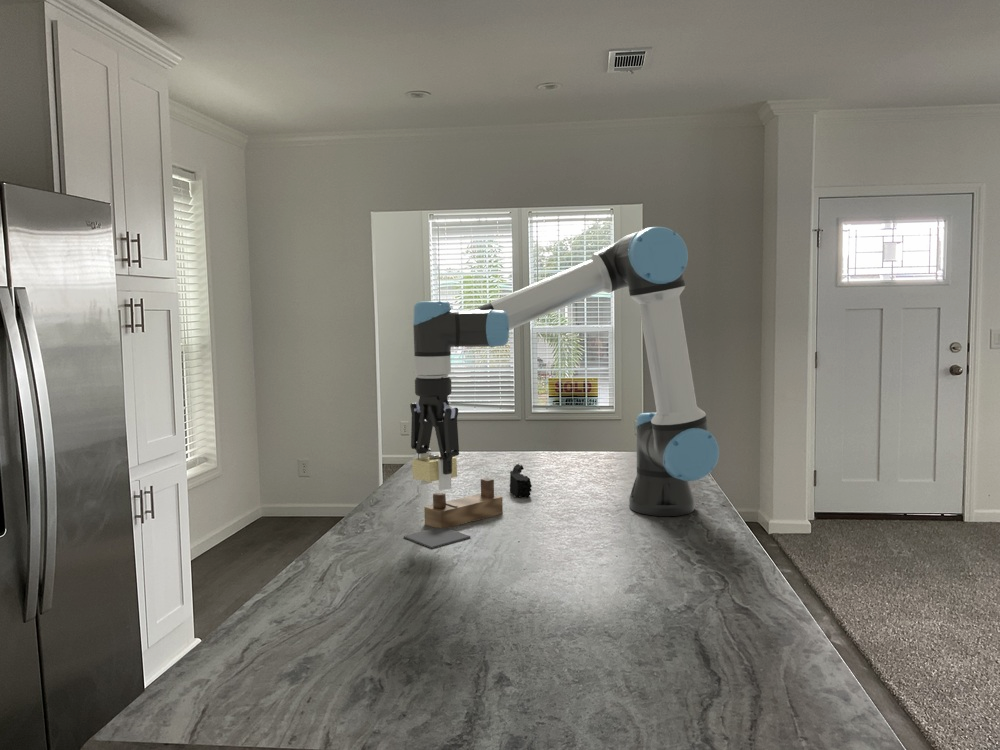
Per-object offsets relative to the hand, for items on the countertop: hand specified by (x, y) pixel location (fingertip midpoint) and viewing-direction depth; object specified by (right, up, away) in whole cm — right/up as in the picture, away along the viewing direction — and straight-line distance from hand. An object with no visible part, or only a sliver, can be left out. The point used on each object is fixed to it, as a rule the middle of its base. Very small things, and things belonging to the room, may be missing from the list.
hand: (435, 486), depth 155 cm
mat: (0, -11, +1) cm, 11 cm away
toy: (+19, -8, +39) cm, 44 cm away
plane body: (+5, -10, +15) cm, 19 cm away
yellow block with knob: (0, +2, 0) cm, 2 cm away
